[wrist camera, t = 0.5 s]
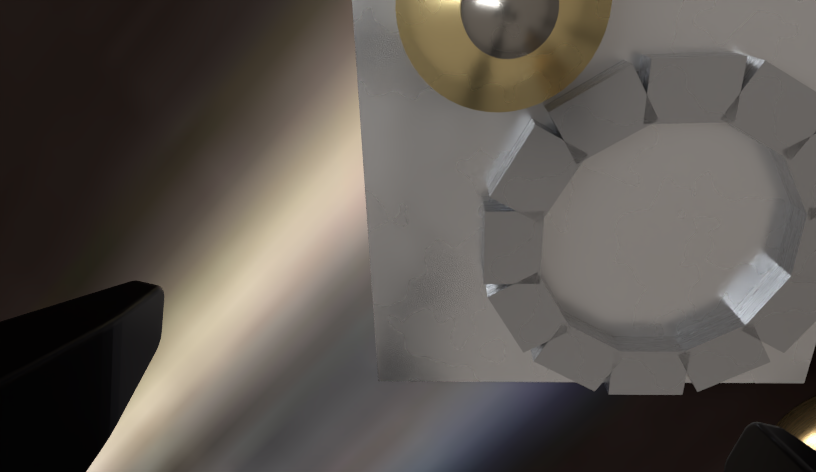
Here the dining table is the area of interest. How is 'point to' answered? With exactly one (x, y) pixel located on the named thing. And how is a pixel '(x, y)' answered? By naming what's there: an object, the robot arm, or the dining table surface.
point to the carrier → (590, 190)
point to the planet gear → (802, 422)
